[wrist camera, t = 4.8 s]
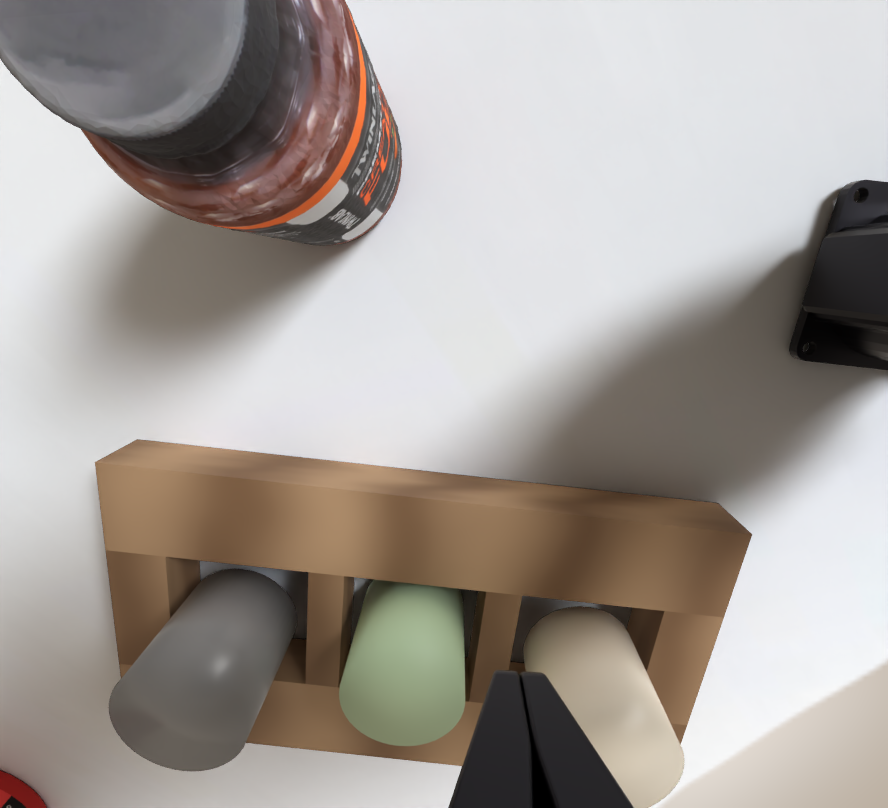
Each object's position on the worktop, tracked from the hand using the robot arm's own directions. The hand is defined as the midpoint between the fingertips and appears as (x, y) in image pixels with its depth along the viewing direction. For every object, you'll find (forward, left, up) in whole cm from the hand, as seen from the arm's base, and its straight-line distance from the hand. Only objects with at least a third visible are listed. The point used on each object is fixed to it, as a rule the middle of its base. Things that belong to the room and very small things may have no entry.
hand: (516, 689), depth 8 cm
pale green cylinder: (+2, +9, -13) cm, 16 cm away
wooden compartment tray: (+2, +9, -13) cm, 16 cm away
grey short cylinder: (+10, +9, -11) cm, 17 cm away
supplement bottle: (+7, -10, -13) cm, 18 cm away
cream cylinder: (-5, +9, -11) cm, 15 cm away
